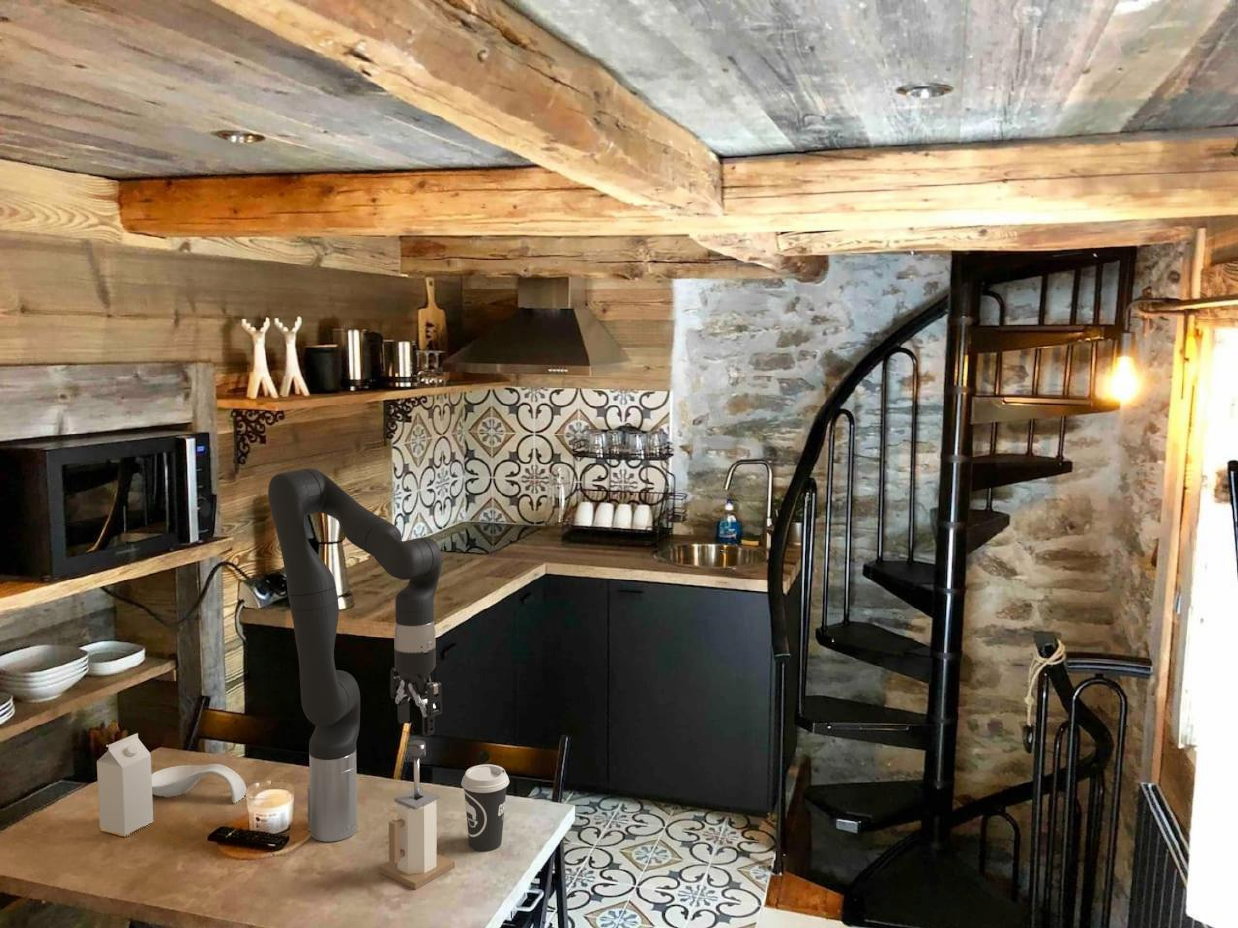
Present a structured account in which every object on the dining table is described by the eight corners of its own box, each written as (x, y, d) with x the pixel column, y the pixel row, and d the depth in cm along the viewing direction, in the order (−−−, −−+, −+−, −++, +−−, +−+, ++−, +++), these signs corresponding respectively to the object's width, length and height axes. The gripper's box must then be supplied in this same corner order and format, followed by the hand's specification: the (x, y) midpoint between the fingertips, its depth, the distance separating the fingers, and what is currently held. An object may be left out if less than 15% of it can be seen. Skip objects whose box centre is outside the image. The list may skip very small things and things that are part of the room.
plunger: (398, 812, 188) (398, 744, 186) (417, 803, 192) (417, 736, 190) (416, 820, 185) (415, 750, 183) (435, 810, 189) (434, 742, 187)
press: (374, 874, 187) (373, 801, 186) (419, 851, 196) (418, 781, 195) (410, 892, 182) (410, 816, 180) (454, 867, 191) (454, 794, 189)
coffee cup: (500, 857, 195) (500, 784, 193) (454, 852, 196) (454, 779, 195) (515, 834, 204) (515, 765, 202) (471, 829, 206) (470, 760, 204)
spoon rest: (130, 800, 217) (129, 769, 217) (165, 778, 229) (164, 748, 228) (226, 812, 212) (225, 780, 212) (257, 789, 224) (257, 758, 223)
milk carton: (99, 831, 203) (95, 742, 201) (128, 816, 209) (124, 730, 207) (125, 838, 200) (121, 747, 198) (153, 823, 207) (150, 735, 204)
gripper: (377, 640, 187) (378, 723, 189) (418, 657, 177) (419, 744, 179) (411, 633, 192) (412, 713, 194) (453, 649, 182) (454, 734, 184)
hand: (416, 728), depth 187 cm, fingers open, 8 cm apart
